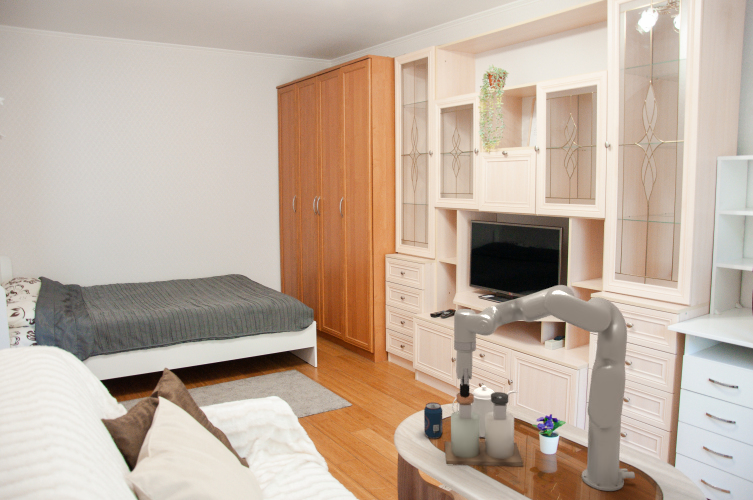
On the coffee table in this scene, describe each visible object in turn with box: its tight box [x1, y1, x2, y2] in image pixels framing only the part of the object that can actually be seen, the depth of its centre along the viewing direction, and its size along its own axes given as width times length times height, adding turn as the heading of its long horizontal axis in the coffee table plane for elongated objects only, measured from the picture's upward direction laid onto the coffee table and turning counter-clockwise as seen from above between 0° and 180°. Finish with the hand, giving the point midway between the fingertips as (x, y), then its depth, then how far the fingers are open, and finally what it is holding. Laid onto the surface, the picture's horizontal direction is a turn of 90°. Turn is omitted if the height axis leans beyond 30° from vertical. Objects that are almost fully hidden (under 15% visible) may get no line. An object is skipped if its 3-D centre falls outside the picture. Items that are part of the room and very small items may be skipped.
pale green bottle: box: [450, 403, 480, 458], centre depth 198 cm, size 10×10×18 cm
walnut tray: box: [444, 440, 524, 467], centre depth 198 cm, size 26×14×2 cm, turn 85°
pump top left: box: [491, 391, 509, 405], centre depth 196 cm, size 6×6×8 cm
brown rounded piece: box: [456, 392, 474, 405], centre depth 197 cm, size 6×6×8 cm
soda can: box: [423, 402, 444, 439], centre depth 214 cm, size 7×7×12 cm
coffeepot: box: [451, 384, 519, 439], centre depth 215 cm, size 11×25×19 cm, turn 84°
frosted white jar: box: [484, 403, 515, 459], centre depth 197 cm, size 10×10×18 cm
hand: (464, 395), depth 196 cm, fingers closed
